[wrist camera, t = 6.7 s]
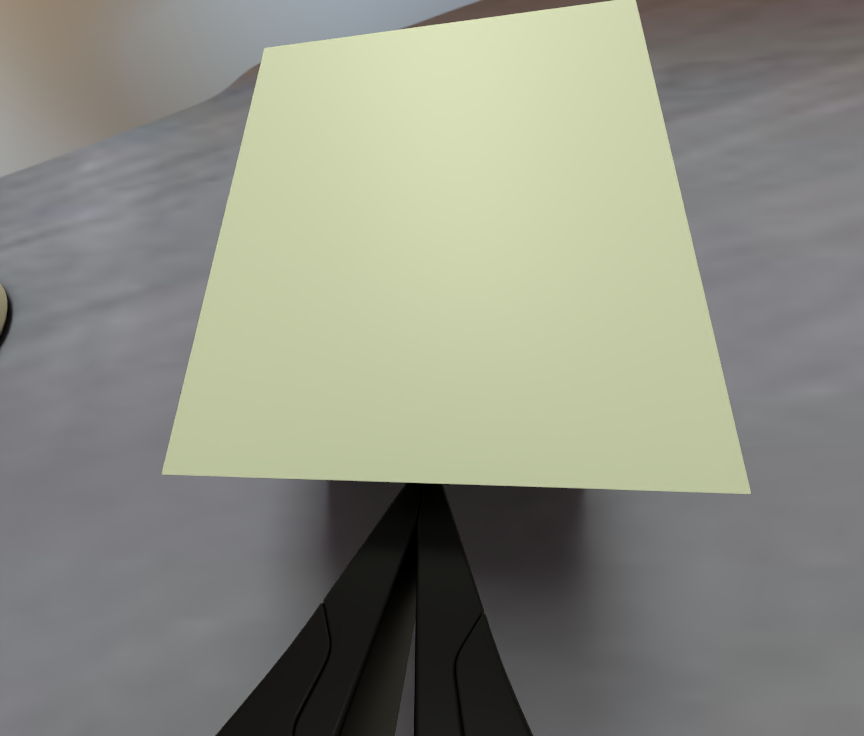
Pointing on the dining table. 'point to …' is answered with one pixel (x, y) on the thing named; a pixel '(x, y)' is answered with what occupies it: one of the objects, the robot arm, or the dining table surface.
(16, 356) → the dining table surface
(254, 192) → the sage box
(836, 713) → the dining table surface
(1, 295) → the travel mug
